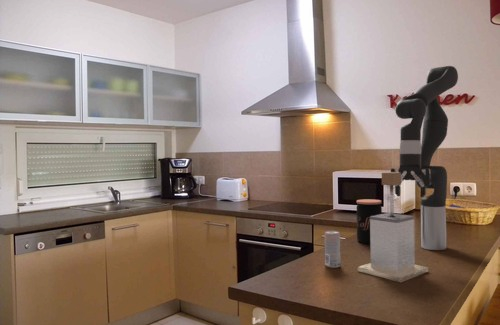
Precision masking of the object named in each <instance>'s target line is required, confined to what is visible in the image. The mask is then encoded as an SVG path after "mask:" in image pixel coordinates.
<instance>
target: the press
mask: <svg viewBox="0 0 500 325" xmlns="http://www.w3.org/2000/svg"><path fill="white" fill-rule="evenodd" d="M369 245H370V262H369V263H366V264H363V265H360V266H357V272H360V273H362V274H367V275H371V276H374V277H378V278H382V279H386V280H389V281H394V282H399V283H403V282H405V281H408V280H411V279H414V278H416V277H419V276H422V275H423V274H426V273H428V272H429V266H425V265H424V266H423V265H418V264H415V261H416V260H415V258H416V257H415V253H416V252H415V216H414V215H407V214H399V213H398V214H397V213H394V217H390V212H385V213H382V214H380V215H375V216H370V244H369Z"/></svg>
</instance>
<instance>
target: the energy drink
mask: <svg viewBox="0 0 500 325" xmlns="http://www.w3.org/2000/svg"><path fill="white" fill-rule="evenodd" d="M324 265H325V267H326V268H332V269H333V268H339V267H341V233H340V231H338V230H326V231H325V232H324Z"/></svg>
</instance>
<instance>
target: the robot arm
mask: <svg viewBox="0 0 500 325" xmlns="http://www.w3.org/2000/svg"><path fill="white" fill-rule="evenodd" d="M458 81H459V73H458V70H457V68H456V67H455V66H452V65H446V66H445V65H444V66H440V67H438V66H437V67H433V68H430V69H429V70H428V71H427V75H426V83H425V84H424V85H422V86H421V87H419V88H417V89H416V91H414V93H413V94H410V95H407V96H406V97H404V98H402V99H400V100H399V101H398V102H397V104H396V106H395V114H396V116H397V117H398V118H400V119H401V120H402V119H403V120H407V119H411V121H410V122H409V123H407V124H405V125H402V126H401V127H400V142H399V167H398V168H395V167H394V168H391V169H390V172H401V184H402V183H403V182H404V181H415V182H416V185H417V187H418V188H420V198H421V199H420V240H421V241H420V242H421V243H420V244H421V246H420V247H421V249H424V250H429V251H443V250H446V249H447V218H446V217H447V216H446V215H447V214H446V213H447V212H446V211H447V210H446V209H447V208H446V205H447V204H446V202H447V188H448V172H447V170H446V167H445V166H441V165H431V162H432V159H433V156H434V154H435V153H436V152H437V150H438V148H440V146H441V145H442V144H443V142H444V141H445V139H446V137H447V135H448V127H449V126H448V125H449V118H448V116H447V113H446V112H445V110H444V109H443V107H442V106H441V104H440V102H439V98H438V97H439V96H440V95H442V94H444V93H445V92H447V91H449V90H450V89H452V88H454V87H455V86H456V85H457V83H458ZM421 131H422V137H421ZM427 189H432V190H433V192H432V194H430V195H428V196H426V194H427V193H426V191H427ZM394 192H395V193H394V194H395V195H396V197H401V185H394Z"/></svg>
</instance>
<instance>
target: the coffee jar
mask: <svg viewBox="0 0 500 325" xmlns="http://www.w3.org/2000/svg"><path fill="white" fill-rule="evenodd" d="M382 203H383V202H382V200H380V199H371V198H370V199H369V198H367V199H365V198H364V199H357V200H356V204H357V205H356V239H357V241H358V242H359V243H360V244H361V243H362V244H366V245H370V216H375V215H380V214H383V213H382V212H383V210H382V209H383V208H382V205H381V204H382Z"/></svg>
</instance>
